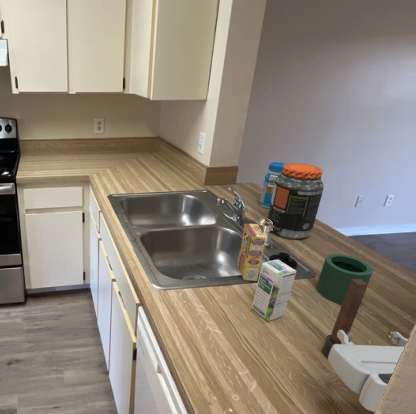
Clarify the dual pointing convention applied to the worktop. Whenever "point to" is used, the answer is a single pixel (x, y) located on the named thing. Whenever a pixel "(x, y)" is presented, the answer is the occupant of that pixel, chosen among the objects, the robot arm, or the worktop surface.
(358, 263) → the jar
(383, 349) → the robot arm
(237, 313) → the worktop surface
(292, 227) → the supplement tub
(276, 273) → the syrup box
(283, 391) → the worktop surface
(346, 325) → the brush
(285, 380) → the worktop surface
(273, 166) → the beverage bottle
